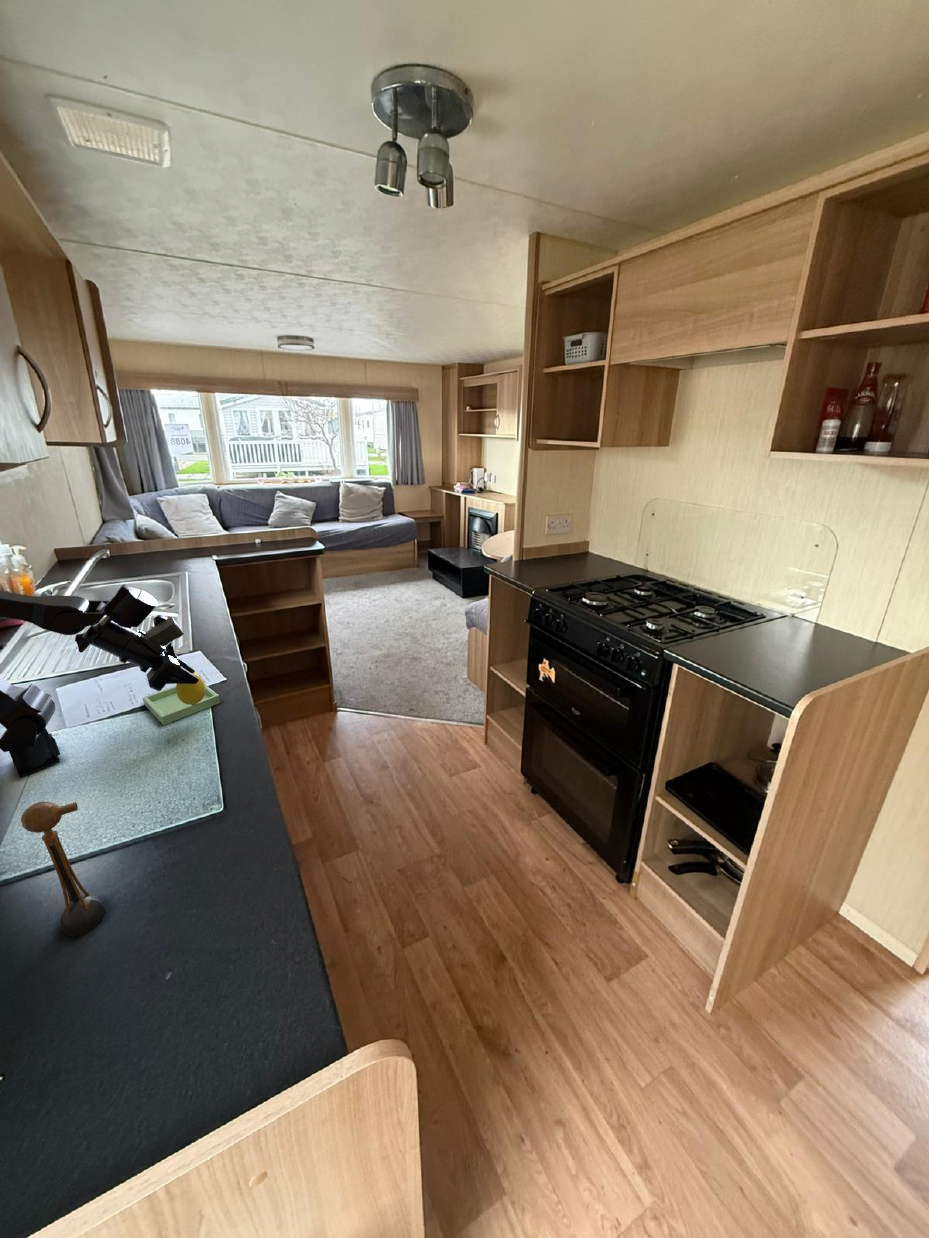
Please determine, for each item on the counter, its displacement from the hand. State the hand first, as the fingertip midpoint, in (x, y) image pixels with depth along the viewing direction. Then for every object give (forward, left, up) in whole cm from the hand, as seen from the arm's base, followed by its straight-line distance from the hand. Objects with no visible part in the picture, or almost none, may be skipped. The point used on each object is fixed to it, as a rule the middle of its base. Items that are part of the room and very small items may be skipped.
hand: (195, 677), depth 109 cm
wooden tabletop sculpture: (-31, -37, -11) cm, 50 cm away
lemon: (-1, 0, -7) cm, 7 cm away
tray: (-1, +12, -11) cm, 16 cm away
